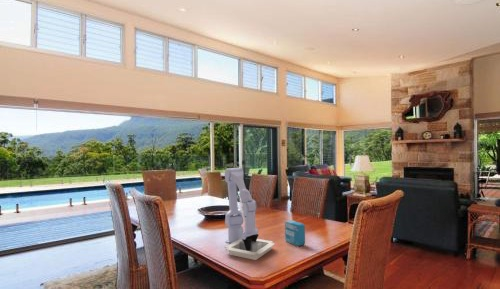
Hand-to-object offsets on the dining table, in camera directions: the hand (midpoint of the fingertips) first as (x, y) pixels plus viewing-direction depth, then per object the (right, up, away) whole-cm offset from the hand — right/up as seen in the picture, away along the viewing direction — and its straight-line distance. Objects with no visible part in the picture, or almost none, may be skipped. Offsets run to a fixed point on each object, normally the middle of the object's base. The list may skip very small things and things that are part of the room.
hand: (250, 249), depth 154 cm
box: (0, -1, 0) cm, 1 cm away
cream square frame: (0, -1, 0) cm, 1 cm away
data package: (+26, -1, +13) cm, 29 cm away
